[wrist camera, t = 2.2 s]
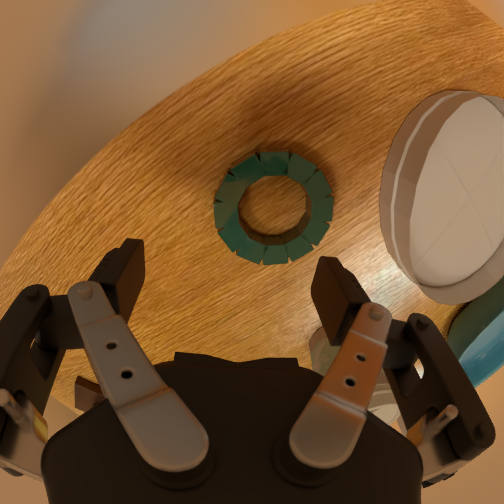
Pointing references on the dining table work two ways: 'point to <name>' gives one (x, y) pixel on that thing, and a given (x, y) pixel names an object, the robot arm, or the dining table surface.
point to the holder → (87, 394)
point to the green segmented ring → (295, 239)
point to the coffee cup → (382, 395)
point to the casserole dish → (480, 335)
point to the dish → (447, 196)
